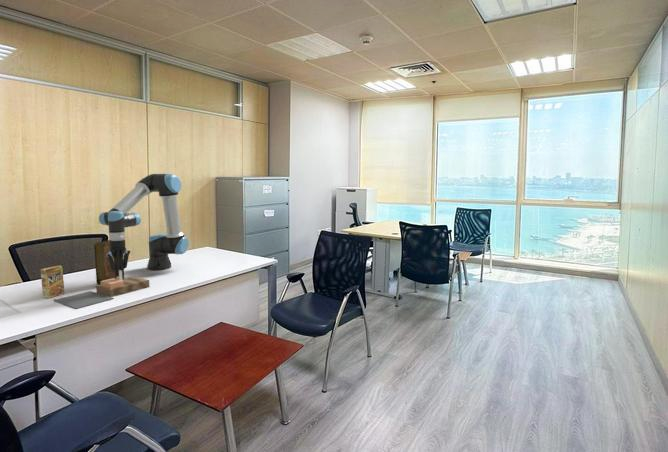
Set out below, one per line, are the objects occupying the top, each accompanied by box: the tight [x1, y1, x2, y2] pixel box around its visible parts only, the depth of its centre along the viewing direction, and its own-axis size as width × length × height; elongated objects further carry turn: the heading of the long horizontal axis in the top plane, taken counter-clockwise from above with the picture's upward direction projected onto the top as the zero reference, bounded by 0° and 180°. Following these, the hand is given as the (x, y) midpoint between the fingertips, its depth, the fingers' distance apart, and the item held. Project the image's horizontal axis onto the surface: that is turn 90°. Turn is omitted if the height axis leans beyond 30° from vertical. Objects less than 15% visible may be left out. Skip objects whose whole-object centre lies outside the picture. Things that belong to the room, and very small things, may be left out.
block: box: [100, 278, 124, 289], centre depth 212 cm, size 7×10×2 cm
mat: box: [53, 290, 114, 310], centre depth 200 cm, size 18×22×1 cm
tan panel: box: [95, 276, 151, 298], centre depth 218 cm, size 22×14×4 cm, turn 149°
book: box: [93, 239, 125, 285], centre depth 229 cm, size 16×6×25 cm, turn 168°
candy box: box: [40, 265, 66, 299], centre depth 205 cm, size 9×4×15 cm, turn 159°
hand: (119, 281), depth 215 cm, fingers closed
